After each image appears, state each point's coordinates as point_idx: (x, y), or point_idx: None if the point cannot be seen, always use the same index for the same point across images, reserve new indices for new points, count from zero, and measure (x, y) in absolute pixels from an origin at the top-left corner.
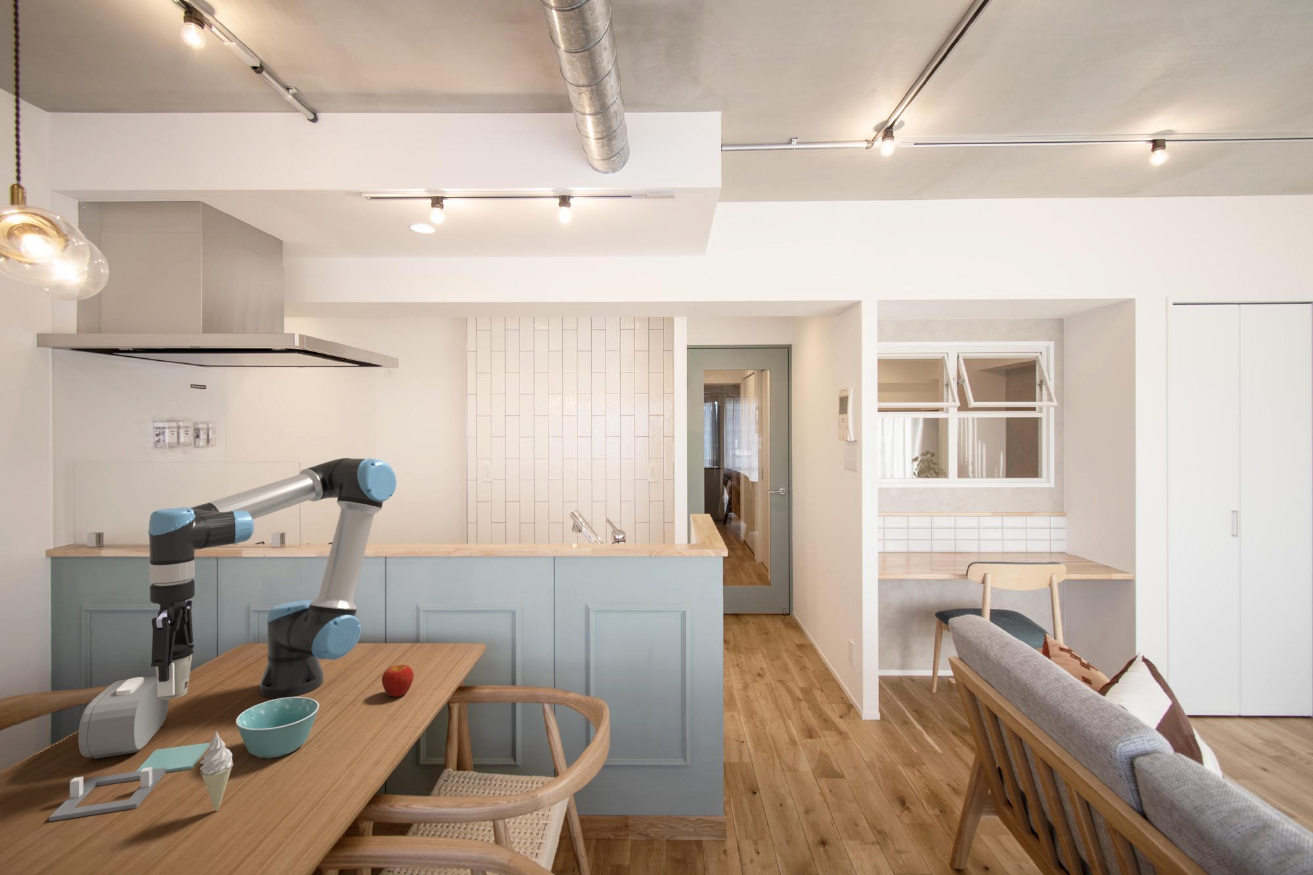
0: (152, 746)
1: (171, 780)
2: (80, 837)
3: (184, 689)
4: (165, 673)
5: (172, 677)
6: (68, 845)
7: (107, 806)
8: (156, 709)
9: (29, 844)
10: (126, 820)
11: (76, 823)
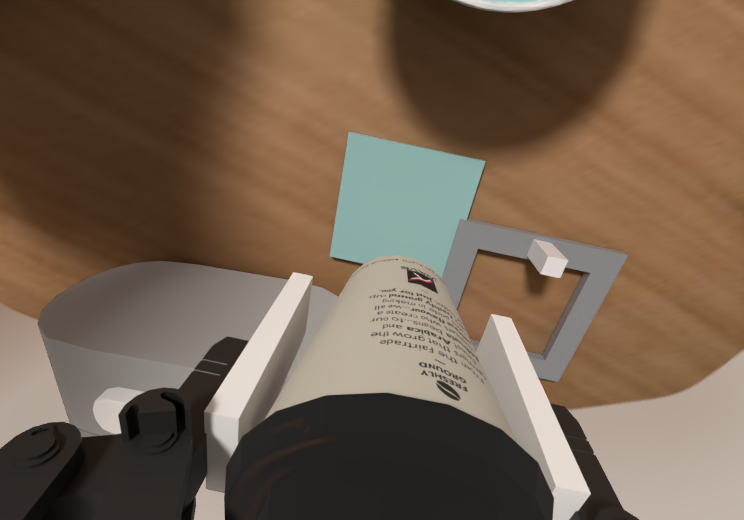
0: (291, 264)
1: (523, 199)
2: (673, 324)
3: (431, 276)
4: (598, 468)
5: (545, 395)
6: (690, 336)
7: (591, 305)
8: (186, 298)
9: (626, 385)
10: (670, 261)
11: (601, 338)
